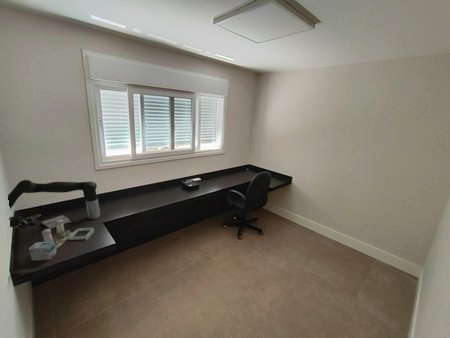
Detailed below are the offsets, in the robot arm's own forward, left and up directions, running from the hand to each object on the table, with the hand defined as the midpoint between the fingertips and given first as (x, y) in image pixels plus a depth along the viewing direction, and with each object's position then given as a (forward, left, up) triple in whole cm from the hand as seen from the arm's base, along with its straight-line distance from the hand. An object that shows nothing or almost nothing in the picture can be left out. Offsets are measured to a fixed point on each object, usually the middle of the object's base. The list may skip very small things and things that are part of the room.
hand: (39, 221), depth 145 cm
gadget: (-21, -3, -16) cm, 26 cm away
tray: (0, +27, -15) cm, 31 cm away
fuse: (+13, +13, -13) cm, 23 cm away
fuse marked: (0, +13, -13) cm, 18 cm away
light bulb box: (+23, +16, -15) cm, 32 cm away
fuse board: (+6, +13, -15) cm, 21 cm away
